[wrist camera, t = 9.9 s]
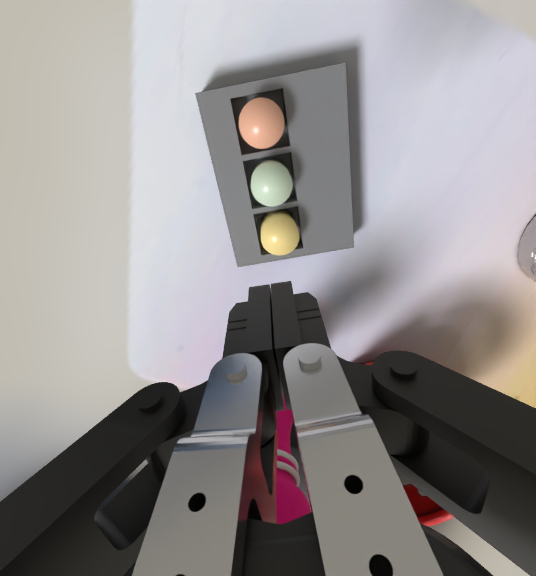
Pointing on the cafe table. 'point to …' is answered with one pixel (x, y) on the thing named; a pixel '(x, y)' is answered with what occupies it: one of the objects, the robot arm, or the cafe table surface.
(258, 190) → the sage button
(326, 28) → the cafe table surface
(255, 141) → the terracotta button
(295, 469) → the pepper mill
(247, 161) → the panel
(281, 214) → the ochre button
